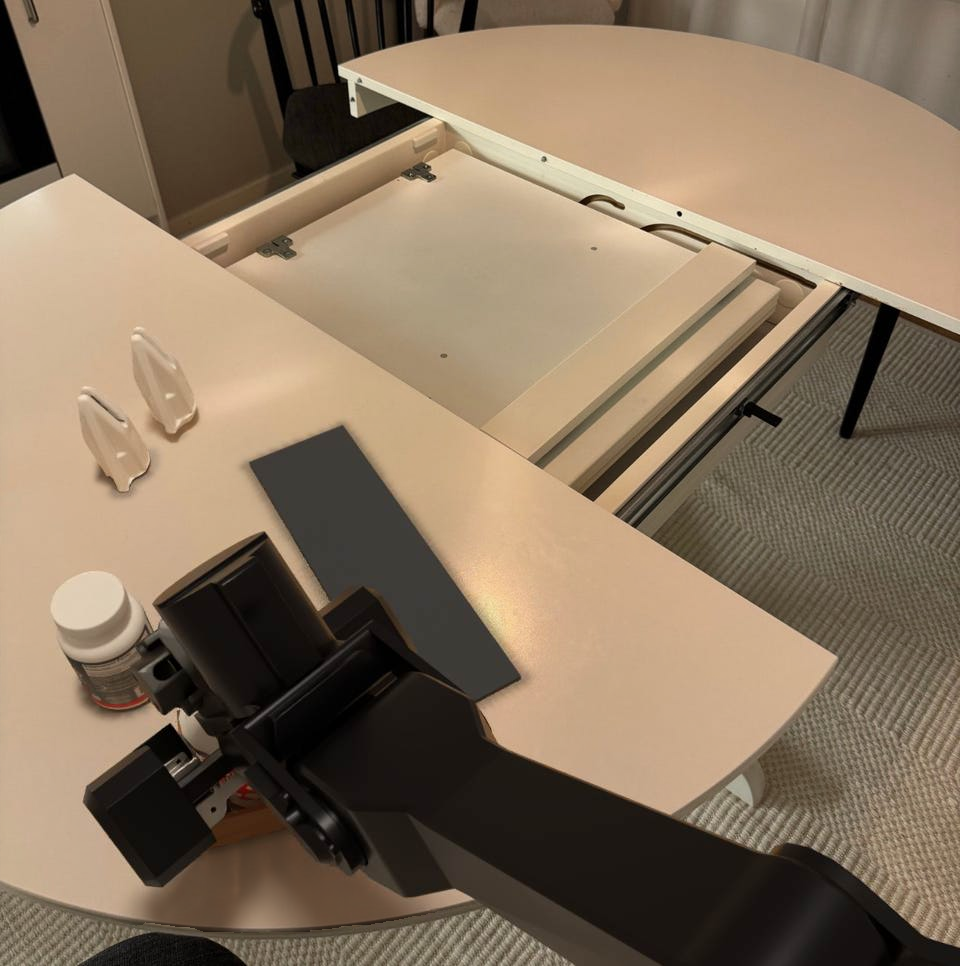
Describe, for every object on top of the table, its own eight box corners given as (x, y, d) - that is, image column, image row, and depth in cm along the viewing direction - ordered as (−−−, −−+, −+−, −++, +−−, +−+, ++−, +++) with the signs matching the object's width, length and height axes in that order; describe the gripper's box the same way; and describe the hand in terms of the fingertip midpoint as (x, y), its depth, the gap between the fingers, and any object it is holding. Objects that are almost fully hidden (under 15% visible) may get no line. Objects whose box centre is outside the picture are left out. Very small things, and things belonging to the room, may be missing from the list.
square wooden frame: (329, 817, 62) (322, 794, 60) (198, 851, 61) (185, 829, 58) (308, 705, 68) (302, 680, 65) (188, 735, 66) (176, 710, 64)
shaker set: (179, 393, 90) (148, 297, 81) (215, 408, 88) (187, 311, 80) (88, 477, 83) (45, 381, 74) (125, 494, 81) (85, 398, 73)
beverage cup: (286, 826, 62) (247, 721, 52) (196, 810, 63) (139, 704, 52) (313, 740, 66) (282, 627, 56) (228, 726, 67) (182, 612, 56)
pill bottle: (86, 654, 71) (41, 574, 63) (165, 635, 72) (129, 554, 64) (89, 722, 67) (41, 645, 60) (172, 700, 68) (135, 622, 61)
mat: (521, 678, 69) (521, 675, 69) (411, 737, 66) (411, 734, 66) (343, 427, 87) (342, 424, 86) (249, 464, 84) (248, 461, 83)
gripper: (369, 499, 49) (273, 520, 63) (34, 736, 40) (6, 701, 54) (478, 673, 51) (363, 657, 65) (183, 934, 43) (120, 853, 56)
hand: (223, 709), depth 60 cm, fingers closed on beverage cup, 6 cm apart
